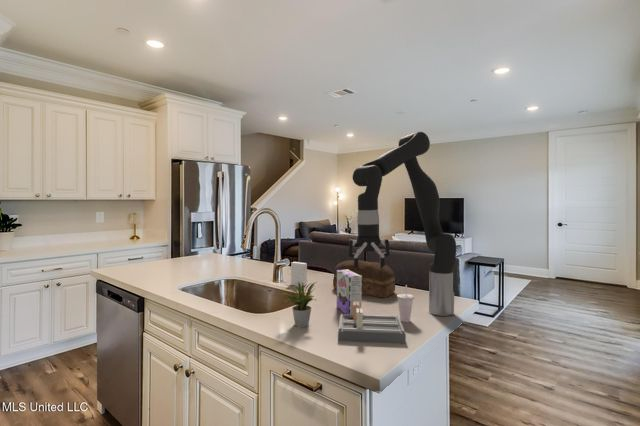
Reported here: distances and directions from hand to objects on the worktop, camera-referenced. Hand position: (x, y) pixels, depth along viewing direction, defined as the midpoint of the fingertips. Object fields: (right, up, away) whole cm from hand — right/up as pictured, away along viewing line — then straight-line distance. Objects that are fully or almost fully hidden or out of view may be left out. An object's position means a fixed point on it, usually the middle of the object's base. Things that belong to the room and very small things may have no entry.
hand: (369, 268), depth 124 cm
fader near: (-4, -19, -5) cm, 20 cm away
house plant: (-24, -22, +8) cm, 34 cm away
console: (0, -23, -1) cm, 22 cm away
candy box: (-6, -22, +23) cm, 32 cm away
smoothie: (+16, -22, +12) cm, 29 cm away
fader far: (-4, -19, +3) cm, 20 cm away
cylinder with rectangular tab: (-29, -20, +69) cm, 78 cm away
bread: (+5, -21, +56) cm, 60 cm away
